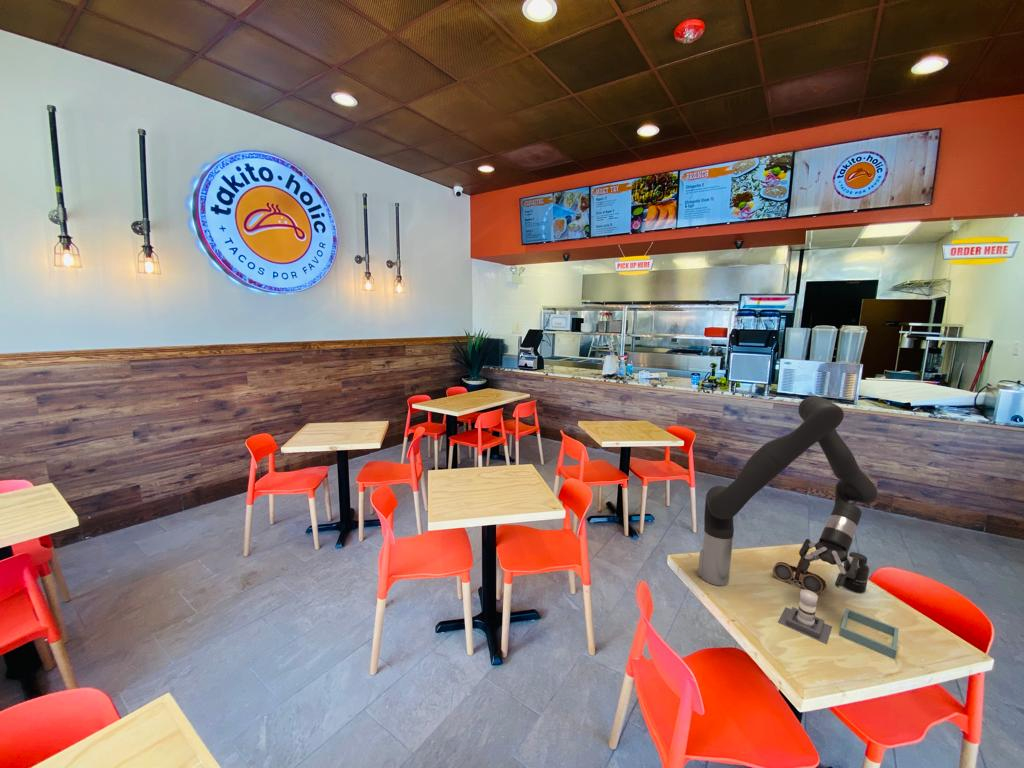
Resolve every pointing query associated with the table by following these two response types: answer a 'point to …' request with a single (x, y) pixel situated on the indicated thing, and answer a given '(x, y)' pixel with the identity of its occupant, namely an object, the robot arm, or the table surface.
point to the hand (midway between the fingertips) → (820, 578)
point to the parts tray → (865, 640)
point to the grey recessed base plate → (818, 632)
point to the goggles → (807, 581)
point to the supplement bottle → (857, 574)
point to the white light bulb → (807, 608)
